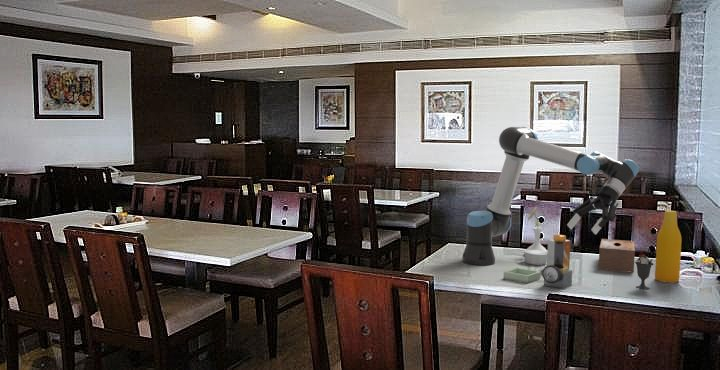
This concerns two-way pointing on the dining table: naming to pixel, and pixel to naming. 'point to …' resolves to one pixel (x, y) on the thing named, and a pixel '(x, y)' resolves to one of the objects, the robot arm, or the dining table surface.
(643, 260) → the sundae
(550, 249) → the small box
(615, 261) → the tissue box cover
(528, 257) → the ramekin
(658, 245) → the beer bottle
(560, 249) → the orange capped bottle
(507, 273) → the tray
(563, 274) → the tensioner block
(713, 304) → the dining table surface
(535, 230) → the flower in vase
